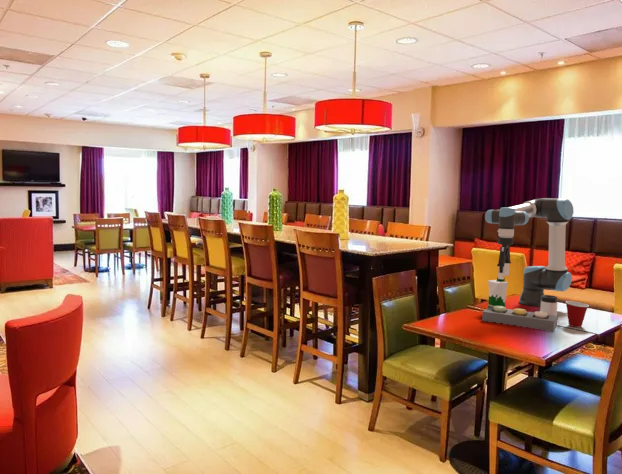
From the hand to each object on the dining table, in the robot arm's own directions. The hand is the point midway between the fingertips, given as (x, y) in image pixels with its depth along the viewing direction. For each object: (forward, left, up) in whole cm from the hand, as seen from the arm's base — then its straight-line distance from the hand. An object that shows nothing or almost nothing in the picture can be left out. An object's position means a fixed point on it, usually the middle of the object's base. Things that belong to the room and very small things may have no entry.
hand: (503, 277), depth 260 cm
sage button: (0, -1, -18) cm, 18 cm away
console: (0, +9, -23) cm, 25 cm away
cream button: (0, +19, -18) cm, 26 cm away
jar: (-20, +20, -23) cm, 37 cm away
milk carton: (-16, -6, -23) cm, 29 cm away
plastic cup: (-12, +34, -23) cm, 43 cm away
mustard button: (0, +9, -18) cm, 20 cm away
